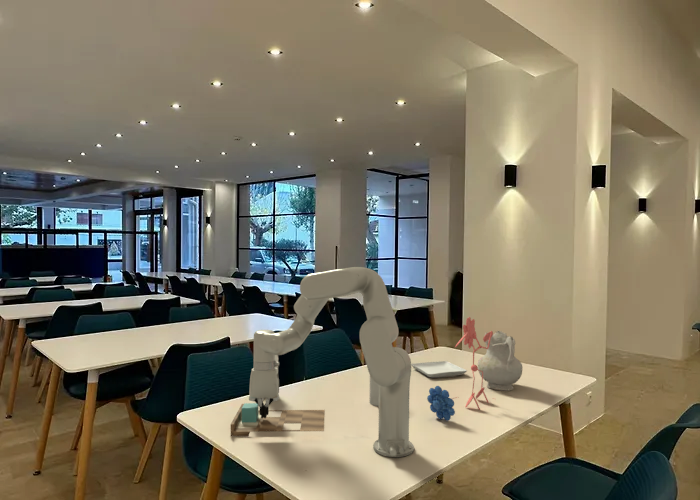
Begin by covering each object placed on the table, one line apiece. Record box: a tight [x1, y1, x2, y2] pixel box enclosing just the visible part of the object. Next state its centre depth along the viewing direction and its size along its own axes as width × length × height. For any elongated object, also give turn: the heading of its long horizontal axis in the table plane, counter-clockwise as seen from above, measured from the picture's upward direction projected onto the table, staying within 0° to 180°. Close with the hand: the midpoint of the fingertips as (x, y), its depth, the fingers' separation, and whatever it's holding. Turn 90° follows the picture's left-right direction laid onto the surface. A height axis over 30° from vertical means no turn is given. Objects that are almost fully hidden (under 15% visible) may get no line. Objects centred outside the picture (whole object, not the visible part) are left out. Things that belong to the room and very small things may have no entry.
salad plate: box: [411, 360, 468, 379], centre depth 236 cm, size 21×21×3 cm
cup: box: [369, 375, 379, 407], centre depth 190 cm, size 8×8×12 cm
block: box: [242, 402, 259, 422], centre depth 167 cm, size 5×5×5 cm
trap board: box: [230, 403, 326, 437], centre depth 167 cm, size 20×31×4 cm, turn 92°
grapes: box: [426, 385, 456, 422], centre depth 172 cm, size 12×7×12 cm, turn 46°
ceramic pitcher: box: [477, 330, 523, 392], centre depth 211 cm, size 22×20×25 cm
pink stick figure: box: [452, 316, 495, 410], centre depth 191 cm, size 15×26×35 cm, turn 142°
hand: (264, 416), depth 167 cm, fingers closed
